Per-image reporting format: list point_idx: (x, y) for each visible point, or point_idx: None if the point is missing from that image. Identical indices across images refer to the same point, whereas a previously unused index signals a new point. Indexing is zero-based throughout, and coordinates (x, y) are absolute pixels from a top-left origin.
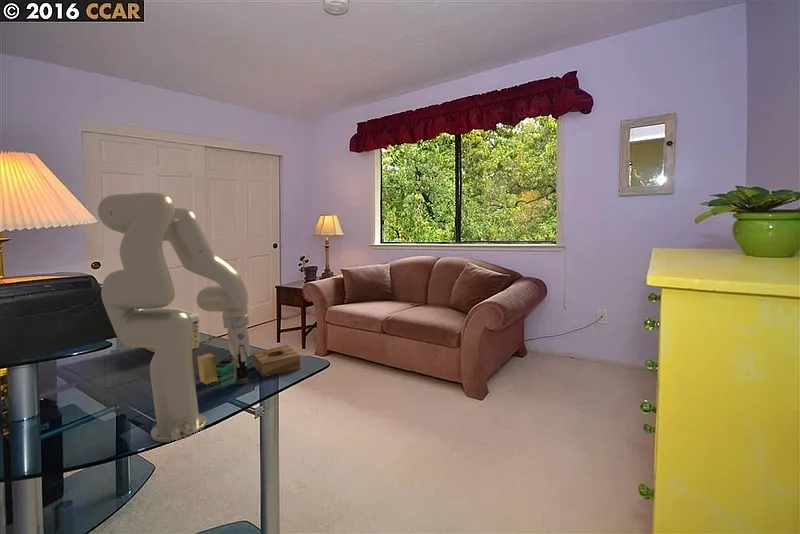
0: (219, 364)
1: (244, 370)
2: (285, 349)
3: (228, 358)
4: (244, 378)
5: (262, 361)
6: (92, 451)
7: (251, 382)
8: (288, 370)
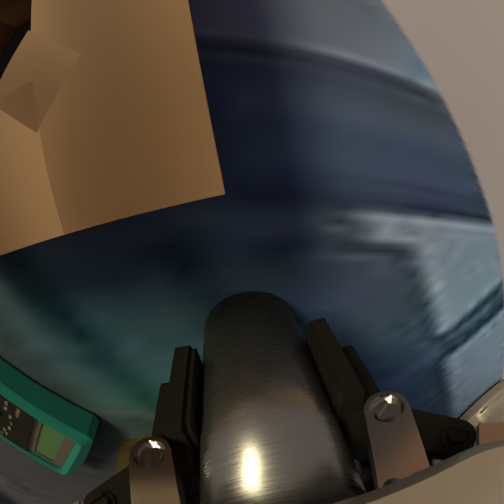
0: (7, 426)
1: (369, 378)
2: None
3: None
4: (299, 332)
5: (137, 179)
6: None
7: (278, 265)
8: None
